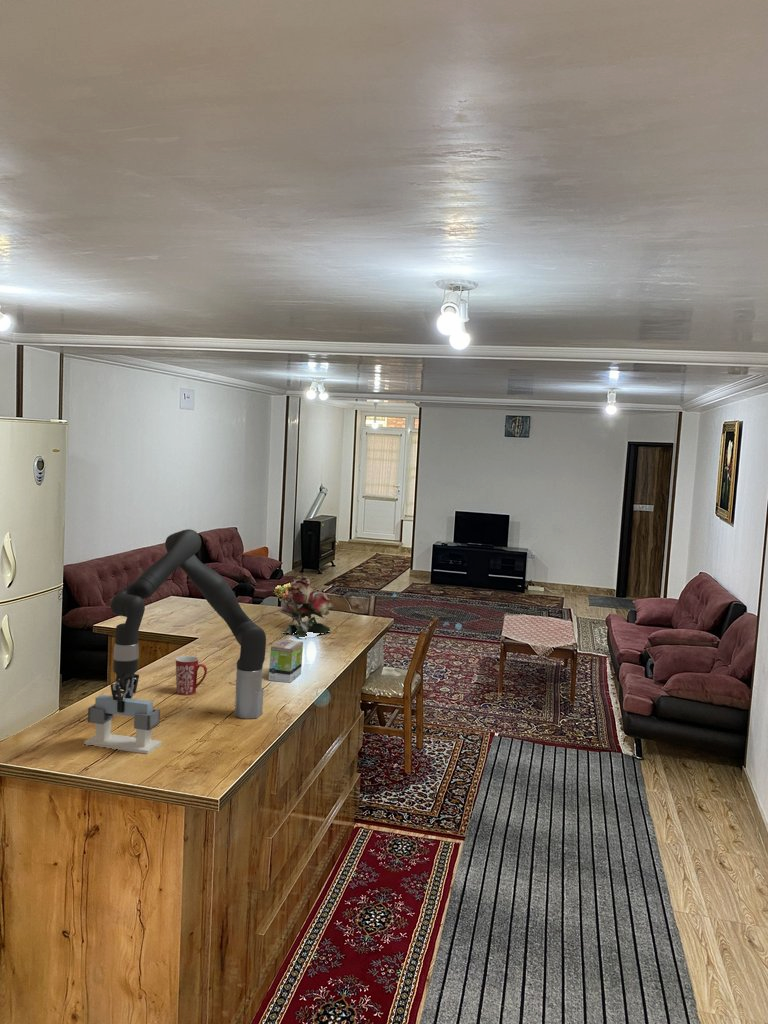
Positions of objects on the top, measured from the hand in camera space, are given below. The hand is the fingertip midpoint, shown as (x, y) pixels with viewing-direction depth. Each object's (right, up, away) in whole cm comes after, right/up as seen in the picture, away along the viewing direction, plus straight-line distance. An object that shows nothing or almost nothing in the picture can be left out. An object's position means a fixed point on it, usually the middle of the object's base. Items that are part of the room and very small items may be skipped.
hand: (124, 709), depth 254 cm
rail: (0, -1, 0) cm, 1 cm away
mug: (+7, -8, +57) cm, 58 cm away
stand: (-1, -11, +1) cm, 11 cm away
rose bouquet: (+39, -1, +173) cm, 177 cm away
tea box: (+41, -8, +86) cm, 95 cm away
